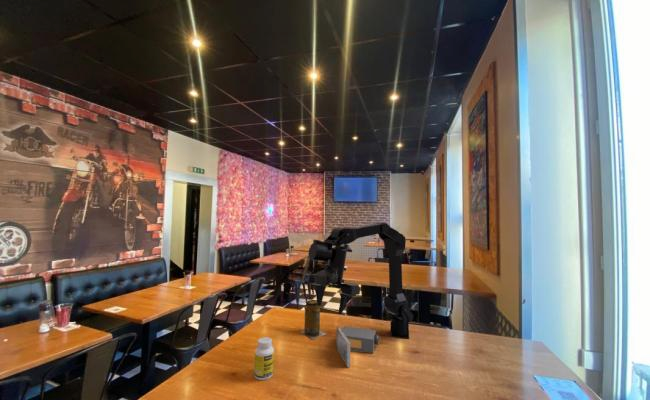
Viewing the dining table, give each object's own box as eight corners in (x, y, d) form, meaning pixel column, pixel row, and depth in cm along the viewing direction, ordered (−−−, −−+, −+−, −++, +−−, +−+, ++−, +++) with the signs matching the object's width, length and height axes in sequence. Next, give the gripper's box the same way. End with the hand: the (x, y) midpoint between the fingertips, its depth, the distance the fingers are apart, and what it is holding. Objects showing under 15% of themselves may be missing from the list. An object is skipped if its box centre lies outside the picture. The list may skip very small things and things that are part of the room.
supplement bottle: (263, 383, 73) (264, 346, 73) (250, 376, 75) (251, 341, 76) (277, 373, 77) (278, 338, 78) (263, 367, 80) (264, 334, 81)
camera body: (379, 343, 97) (379, 323, 97) (376, 355, 88) (376, 333, 88) (342, 338, 101) (342, 318, 101) (336, 349, 92) (336, 327, 92)
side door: (350, 366, 81) (350, 342, 81) (345, 367, 80) (345, 343, 81) (340, 349, 92) (340, 328, 92) (335, 349, 91) (335, 328, 92)
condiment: (313, 327, 110) (314, 298, 111) (327, 334, 104) (327, 303, 105) (299, 332, 106) (299, 301, 107) (312, 339, 99) (312, 306, 100)
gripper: (301, 257, 92) (293, 303, 90) (345, 267, 80) (337, 321, 78) (321, 259, 101) (314, 301, 98) (364, 268, 89) (357, 317, 86)
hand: (329, 309), depth 90 cm, fingers open, 9 cm apart
